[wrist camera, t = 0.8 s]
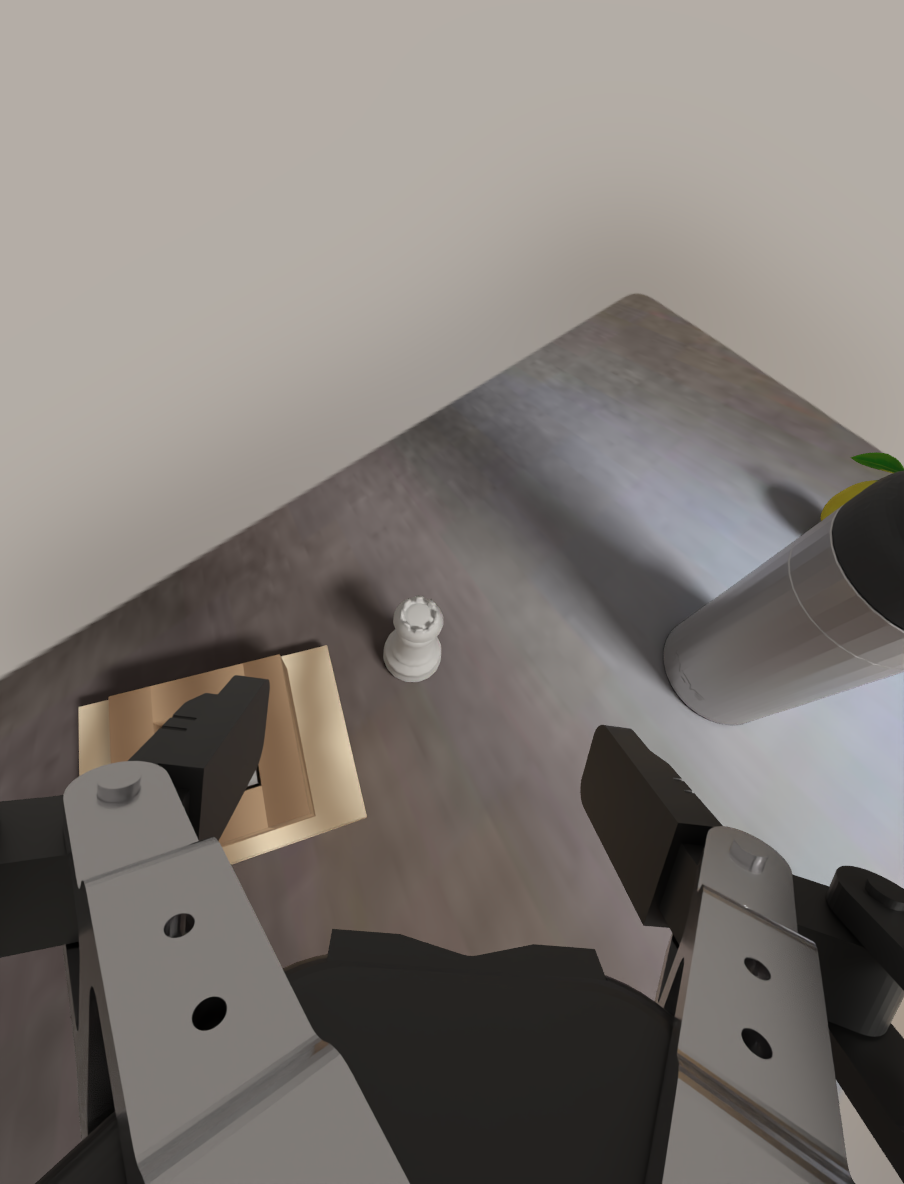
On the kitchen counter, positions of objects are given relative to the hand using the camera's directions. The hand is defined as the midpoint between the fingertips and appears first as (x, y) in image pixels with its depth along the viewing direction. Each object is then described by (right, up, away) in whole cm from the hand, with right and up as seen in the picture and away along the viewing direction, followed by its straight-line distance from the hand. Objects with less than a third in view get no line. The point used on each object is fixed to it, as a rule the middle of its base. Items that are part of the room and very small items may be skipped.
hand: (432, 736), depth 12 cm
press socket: (-15, -8, +21) cm, 27 cm away
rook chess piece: (-3, -2, +26) cm, 26 cm away
